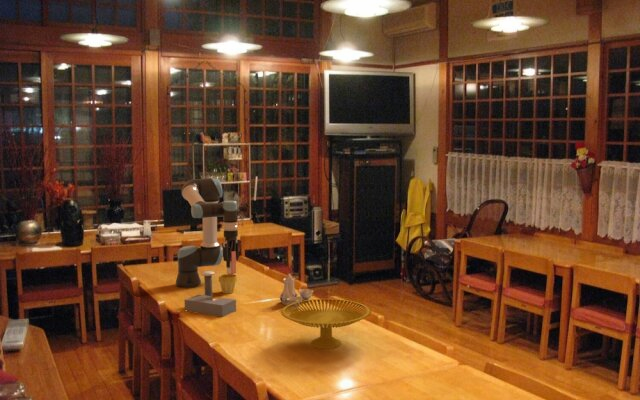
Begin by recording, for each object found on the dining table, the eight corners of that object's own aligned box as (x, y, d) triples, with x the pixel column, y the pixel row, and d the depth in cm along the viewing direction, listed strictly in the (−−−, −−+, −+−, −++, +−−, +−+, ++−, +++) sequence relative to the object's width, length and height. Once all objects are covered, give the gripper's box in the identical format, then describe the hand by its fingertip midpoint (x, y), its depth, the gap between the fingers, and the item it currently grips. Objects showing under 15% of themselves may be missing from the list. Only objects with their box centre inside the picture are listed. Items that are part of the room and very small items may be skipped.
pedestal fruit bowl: (319, 323, 318) (319, 293, 317) (389, 340, 293) (389, 308, 291) (261, 345, 287) (260, 312, 286) (333, 366, 262) (333, 330, 260)
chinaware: (302, 314, 340) (305, 283, 338) (271, 309, 344) (274, 278, 342) (314, 300, 368) (317, 271, 365) (285, 295, 371) (288, 267, 369)
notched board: (184, 311, 342) (184, 299, 341) (199, 305, 353) (198, 294, 352) (222, 316, 331) (222, 305, 330) (236, 310, 342) (235, 299, 341)
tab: (226, 273, 354) (226, 251, 352) (230, 272, 357) (230, 250, 355) (232, 274, 352) (231, 252, 350) (236, 273, 355) (235, 251, 354)
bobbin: (195, 304, 355) (194, 273, 353) (206, 299, 364) (206, 269, 362) (210, 306, 350) (209, 275, 348) (221, 301, 359) (220, 271, 357)
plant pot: (238, 290, 385) (238, 273, 383) (234, 294, 374) (234, 277, 373) (221, 289, 386) (221, 273, 384) (217, 294, 375) (216, 277, 374)
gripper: (227, 232, 342) (228, 276, 345) (245, 227, 357) (245, 269, 360) (215, 231, 346) (216, 274, 349) (233, 226, 360) (234, 268, 363)
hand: (231, 272), depth 354 cm, fingers closed on tab, 3 cm apart
